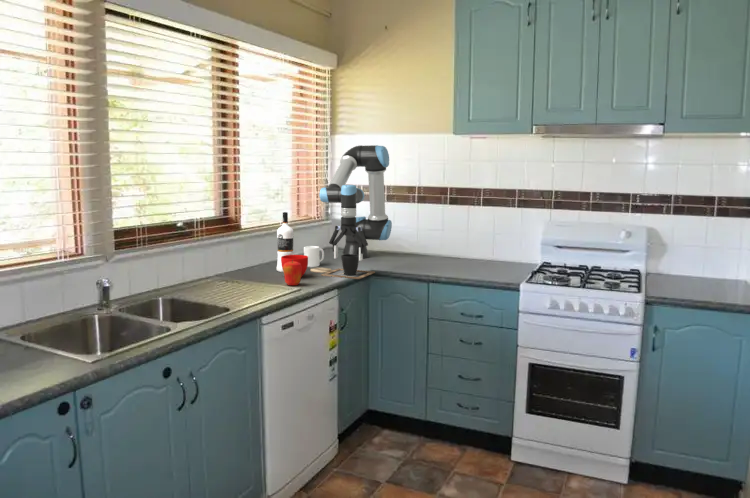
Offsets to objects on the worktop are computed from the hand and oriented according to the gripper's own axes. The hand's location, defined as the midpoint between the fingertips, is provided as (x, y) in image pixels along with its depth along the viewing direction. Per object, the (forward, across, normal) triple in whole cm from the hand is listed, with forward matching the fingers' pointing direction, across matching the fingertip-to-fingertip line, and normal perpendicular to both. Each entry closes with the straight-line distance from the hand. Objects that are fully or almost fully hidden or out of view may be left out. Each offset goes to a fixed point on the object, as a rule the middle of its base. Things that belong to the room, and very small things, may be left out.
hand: (348, 259), depth 310 cm
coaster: (+7, -17, +2) cm, 18 cm away
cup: (+7, -27, +14) cm, 32 cm away
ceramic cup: (+8, -20, -16) cm, 27 cm away
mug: (+8, 0, 0) cm, 8 cm away
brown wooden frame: (+7, 0, 0) cm, 7 cm away
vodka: (+8, -32, -6) cm, 34 cm away
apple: (+8, -11, -34) cm, 37 cm away
